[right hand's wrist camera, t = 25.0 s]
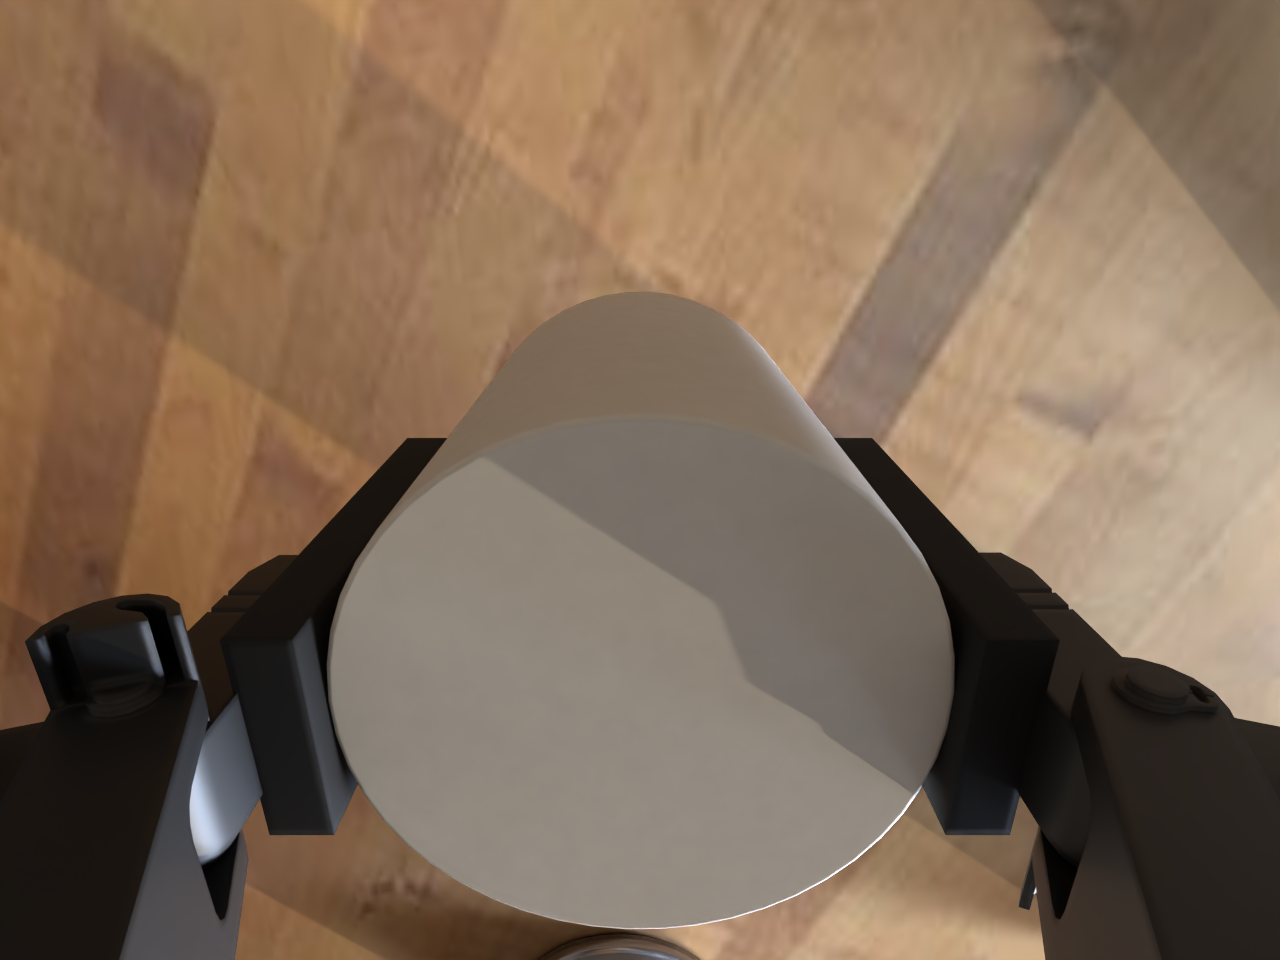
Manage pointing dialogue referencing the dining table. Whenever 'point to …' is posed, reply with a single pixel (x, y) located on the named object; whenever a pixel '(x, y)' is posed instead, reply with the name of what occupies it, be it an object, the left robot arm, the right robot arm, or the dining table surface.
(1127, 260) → the dining table surface
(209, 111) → the dining table surface
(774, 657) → the canister
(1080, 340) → the dining table surface
